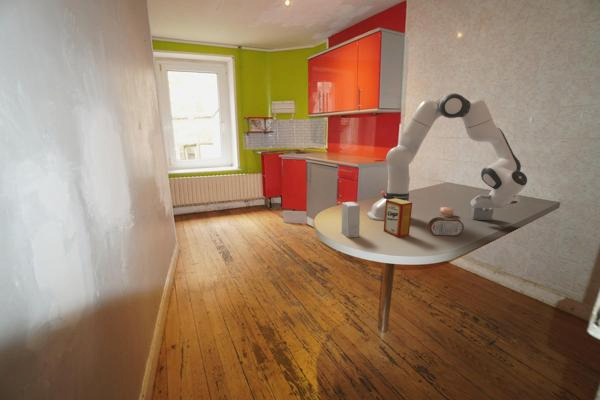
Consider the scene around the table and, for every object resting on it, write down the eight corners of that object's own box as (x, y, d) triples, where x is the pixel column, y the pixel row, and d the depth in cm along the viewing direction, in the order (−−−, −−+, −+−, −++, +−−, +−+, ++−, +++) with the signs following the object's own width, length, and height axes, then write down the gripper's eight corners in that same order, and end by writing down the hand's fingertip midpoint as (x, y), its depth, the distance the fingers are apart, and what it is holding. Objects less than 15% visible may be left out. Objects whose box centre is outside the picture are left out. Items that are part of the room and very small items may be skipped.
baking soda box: (383, 231, 136) (386, 198, 132) (393, 229, 139) (396, 197, 135) (398, 237, 127) (402, 203, 124) (408, 235, 131) (412, 201, 127)
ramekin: (442, 216, 159) (443, 210, 158) (437, 213, 166) (438, 206, 165) (455, 217, 159) (456, 210, 158) (449, 213, 165) (450, 206, 164)
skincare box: (359, 237, 128) (361, 205, 124) (346, 238, 127) (348, 206, 123) (352, 230, 136) (353, 200, 132) (340, 231, 135) (341, 201, 131)
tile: (472, 219, 155) (475, 203, 152) (470, 218, 157) (472, 202, 155) (491, 220, 154) (494, 204, 152) (488, 218, 157) (491, 202, 154)
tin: (460, 234, 132) (462, 217, 130) (463, 237, 129) (466, 219, 127) (426, 233, 133) (428, 216, 131) (429, 235, 130) (431, 218, 128)
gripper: (480, 201, 139) (466, 214, 151) (523, 201, 138) (506, 215, 149) (476, 190, 142) (463, 204, 154) (518, 191, 141) (502, 204, 153)
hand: (485, 209), depth 152 cm, fingers closed
